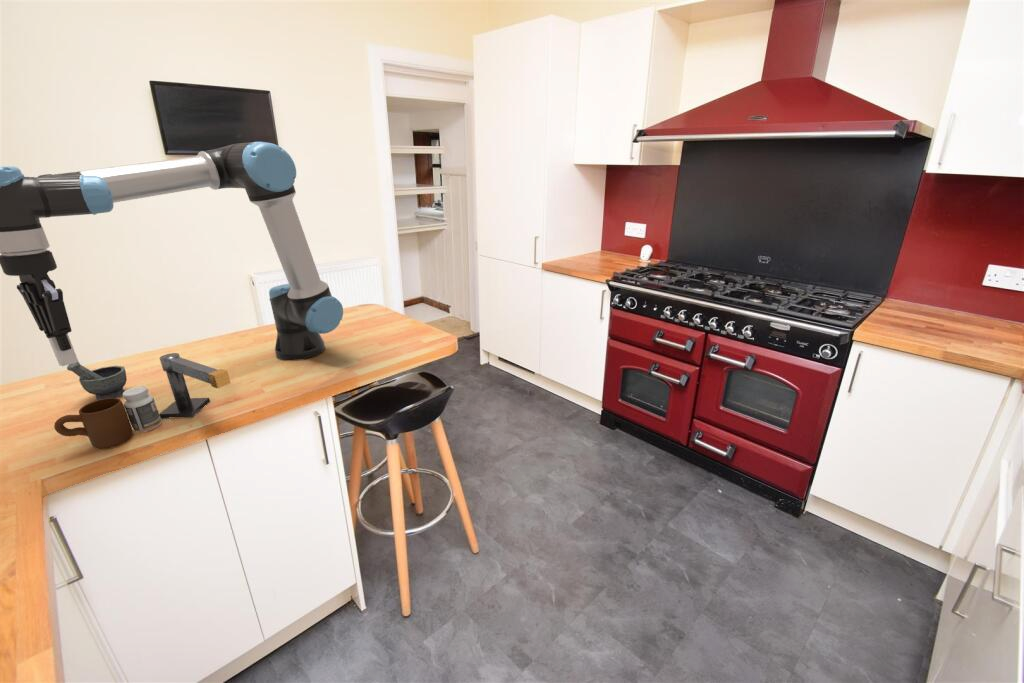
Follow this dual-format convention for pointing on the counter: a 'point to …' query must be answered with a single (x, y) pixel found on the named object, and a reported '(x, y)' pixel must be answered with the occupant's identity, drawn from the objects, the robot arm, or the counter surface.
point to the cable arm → (195, 370)
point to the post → (182, 398)
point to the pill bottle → (141, 409)
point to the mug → (100, 423)
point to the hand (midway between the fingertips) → (68, 363)
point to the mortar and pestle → (101, 380)
